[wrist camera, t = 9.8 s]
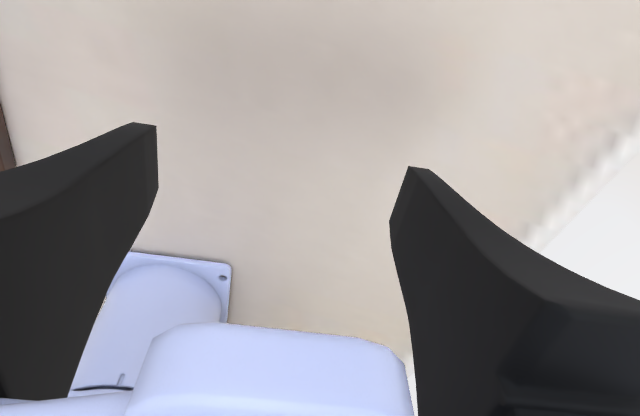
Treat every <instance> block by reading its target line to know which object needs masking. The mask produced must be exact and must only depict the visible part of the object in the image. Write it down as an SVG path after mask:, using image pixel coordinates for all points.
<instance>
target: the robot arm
mask: <svg viewBox="0 0 640 416" xmlns="http://www.w3.org/2000/svg"><path fill="white" fill-rule="evenodd" d="M157 191H158V160H157V133H156V126H154V125H148V124H141V123H135V122H132V123H129V124H126V125H124V126H121V127H119V128H116V129H114V130H112V131H110V132H107V133H105V134H103V135H101V136H98V137H96V138H94V139H91V140H89V141H87V142H85V143H82V144H80V145H78V146H75V147H73V148H70V149H67V150H65V151H62V152H60V153H57V154H54V155H52V156H49V157H47V158H44V159H41V160H38V161H35V162H32V163H29V164H26V165H22V166H19V167H15V168H12V169H8V170H5V171H1V172H0V416H414V411H413V406H412V401H411V396H410V391H409V386H408V381H407V376H406V371H405V365H404V363H403V362H402V361H401V360H400V359H399V358H398V357H397V356H396V355H395V354H394V353H393V352H392V351H391V350H390V349H389V348H388V347H386V346H384V345H381V344H377V343H374V342H371V341H367V340H364V339H361V338H357V337H349V336H340V335H331V334H322V333H312V332H303V331H294V330H285V329H276V328H266V327H257V326H248V325H239V324H229V323H227V316H228V306H229V295H230V284H231V273H232V268H231V267H230V265H228V264H225V263H218V262H210V261H202V260H194V259H186V258H178V257H170V256H162V255H154V254H146V253H138V252H130V251H129V250H130V248H131V246H132V245H133V243H134V241H135V239H136V237H137V236H138V234H139V232H140V230H141V228H142V227H143V225H144V223H145V221H146V219H147V217H148V215H149V213H150V210H151V208H152V205H153V202H154V199H155V197H156V194H157ZM389 225H390V238H391V248H392V253H393V257H394V261H395V266H396V270H397V274H398V278H399V282H400V286H401V290H402V294H403V298H404V302H405V306H406V310H407V315H408V320H409V326H410V334H411V342H412V350H413V359H414V369H415V378H416V391H417V404H418V416H640V300H637V299H635V298H632V297H629V296H627V295H624V294H622V293H619V292H617V291H614V290H611V289H609V288H606V287H604V286H602V285H600V284H597V283H596V282H593V281H591V280H589V279H587V278H585V277H582V276H580V275H578V274H576V273H574V272H572V271H570V270H568V269H566V268H564V267H562V266H560V265H558V264H557V263H555V262H553V261H551V260H549V259H548V258H546V257H544V256H542V255H540V254H539V253H537V252H535V251H534V250H532V249H530V248H529V247H527V246H526V245H524V244H523V243H521V242H519V241H518V240H516V239H515V238H513V237H512V236H510V235H509V234H507V233H506V232H505V231H503V230H502V229H500V228H499V227H498V226H496V225H495V224H494V223H493V222H491V221H490V220H489V219H487V218H486V217H485V216H484V215H482V214H481V213H480V212H479V211H477V210H476V209H475V208H474V207H473V206H472V205H470V204H469V203H468V202H467V201H466V200H465V199H463V198H462V197H461V196H460V195H459V194H458V193H457V192H455V191H454V190H453V189H452V188H451V187H450V186H449V185H448V184H446V183H445V182H444V181H443V180H442V179H441V178H439V177H438V176H437V175H436V174H435V173H433V172H432V171H430V170H429V169H424V168H417V167H411V166H408V169H407V172H406V175H405V178H404V180H403V183H402V186H401V189H400V192H399V195H398V197H397V200H396V203H395V206H394V209H393V212H392V214H391V217H390V220H389ZM221 275H223V276H225V277H222V276H221ZM105 296H106V301H105V303H104V305H103V307H102V309H101V311H100V313H99V310H100V308H101V306H102V303H103V301H104V298H105ZM98 313H99V314H98ZM97 315H98V316H97Z"/></svg>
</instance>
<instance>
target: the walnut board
mask: <svg viewBox="0 0 640 416" xmlns="http://www.w3.org/2000/svg"><path fill="white" fill-rule="evenodd" d="M15 167H16V164H15V160H14V156H13V152H12V149H11V145H10V141H9V137H8V133H7V129H6V125H5V121H4V117H3V113H2V109H1V106H0V172H1V171H5V170H8V169H12V168H15Z"/></svg>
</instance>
